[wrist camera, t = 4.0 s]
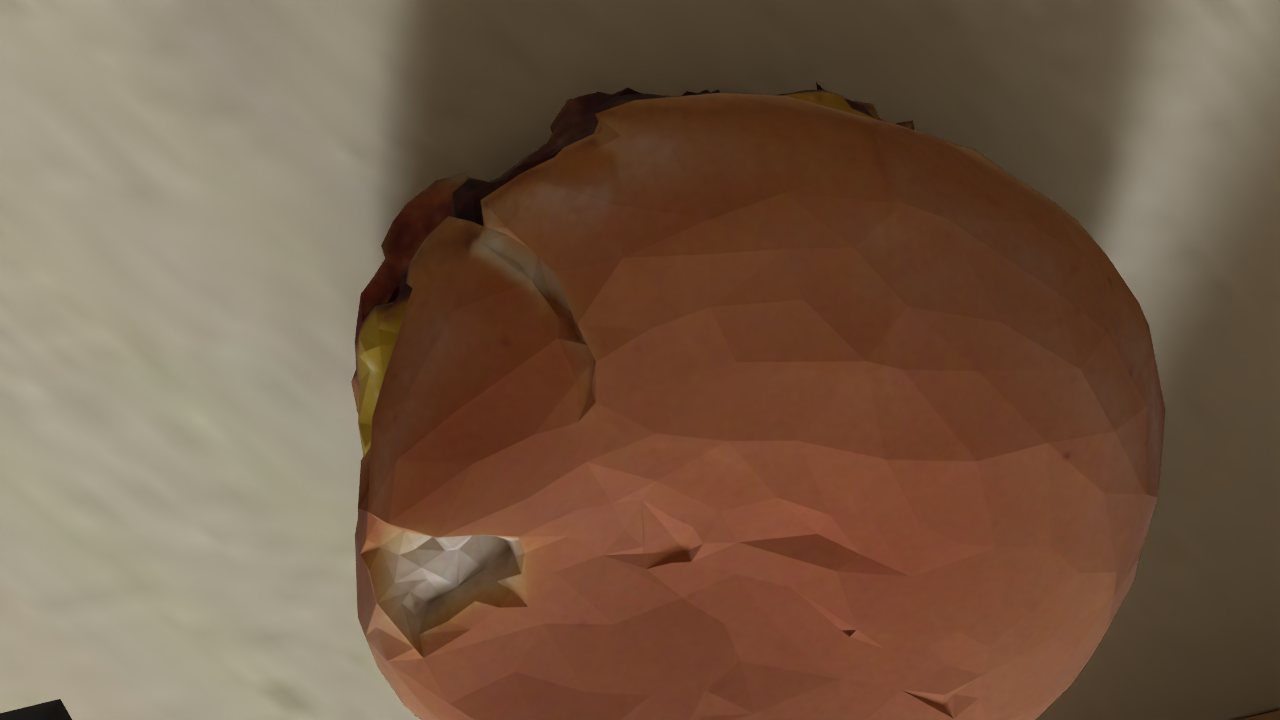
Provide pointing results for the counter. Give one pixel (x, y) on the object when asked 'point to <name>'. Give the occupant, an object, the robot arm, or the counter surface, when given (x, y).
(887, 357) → the burger
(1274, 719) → the carton
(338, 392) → the counter surface
